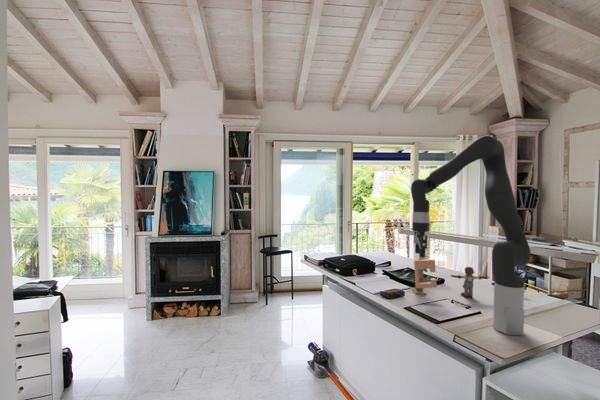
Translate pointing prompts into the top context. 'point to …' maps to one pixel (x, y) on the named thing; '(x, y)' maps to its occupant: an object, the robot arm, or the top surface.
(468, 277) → the toy
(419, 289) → the stand
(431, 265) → the tan c-shaped block
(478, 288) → the top surface
